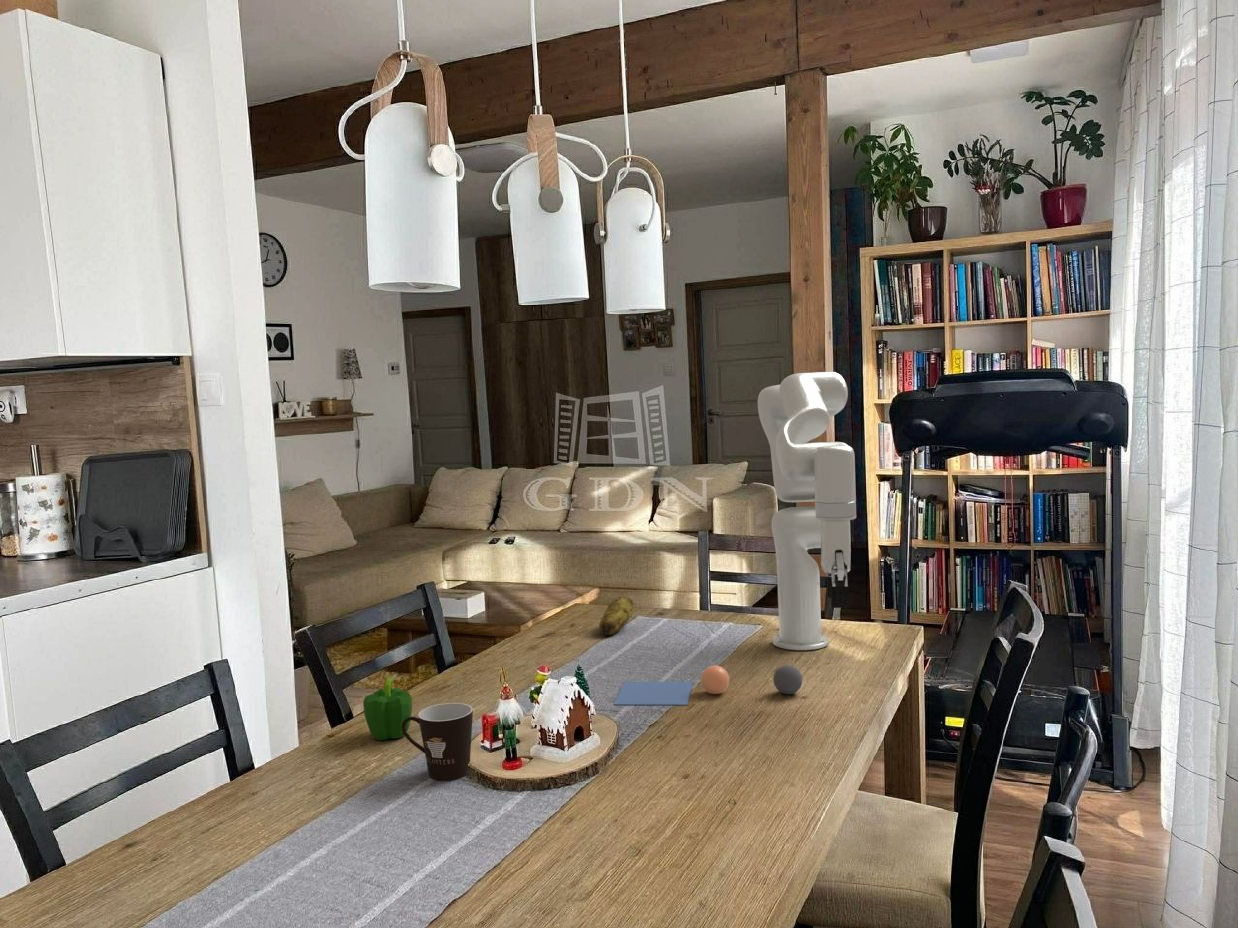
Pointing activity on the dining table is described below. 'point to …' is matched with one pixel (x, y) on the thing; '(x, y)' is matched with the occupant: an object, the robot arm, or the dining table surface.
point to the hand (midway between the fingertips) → (838, 601)
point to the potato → (616, 615)
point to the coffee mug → (445, 739)
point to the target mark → (654, 693)
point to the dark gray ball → (787, 679)
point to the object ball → (715, 679)
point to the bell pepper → (387, 711)
